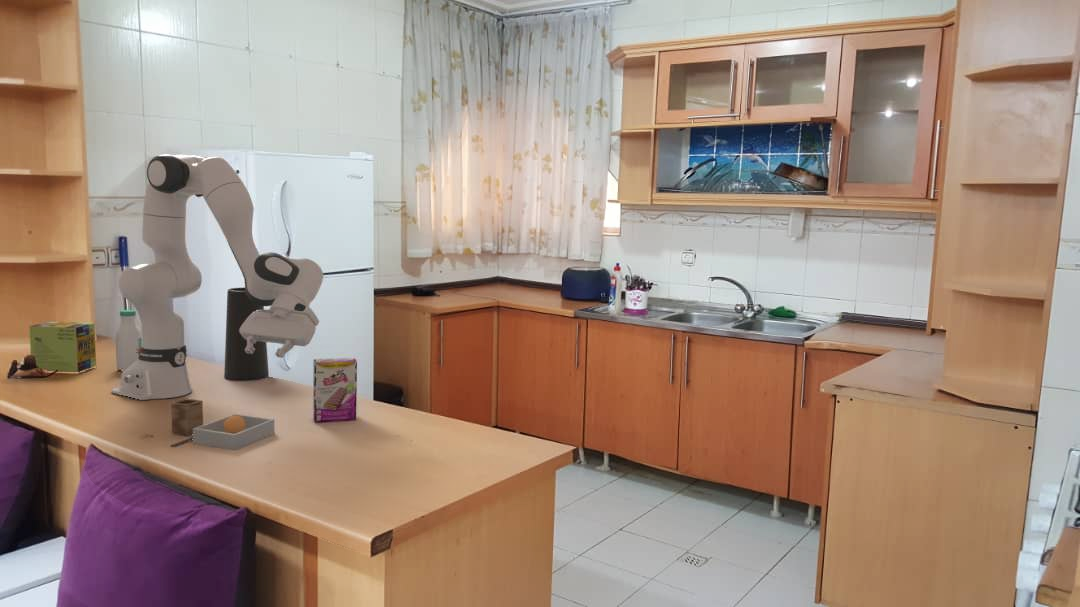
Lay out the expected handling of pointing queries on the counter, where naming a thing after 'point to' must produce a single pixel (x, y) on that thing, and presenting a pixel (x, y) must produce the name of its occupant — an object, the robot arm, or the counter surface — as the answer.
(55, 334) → the protein box
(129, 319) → the milk bottle
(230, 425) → the ball
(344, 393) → the candy bar box
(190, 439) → the line
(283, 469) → the counter surface
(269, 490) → the counter surface
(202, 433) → the tray
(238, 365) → the vase
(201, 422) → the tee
